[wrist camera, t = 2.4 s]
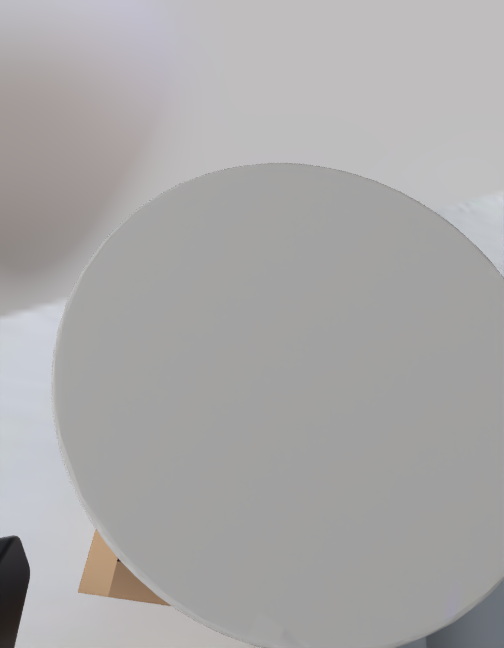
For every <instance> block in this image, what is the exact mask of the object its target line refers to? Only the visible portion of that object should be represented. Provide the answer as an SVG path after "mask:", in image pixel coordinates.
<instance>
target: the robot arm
mask: <svg viewBox="0 0 504 648" xmlns="http://www.w3.org/2000/svg"><path fill="white" fill-rule="evenodd" d="M29 579H30V567H29V563H28V560H27V558H26V555H25V552H24V549H23V546H22V543H21V540H20V538H19V537H17V536H8V537H2V538H0V648H14V647H15V642H16V638H17V633H18V629H19V624H20V620H21V615H22V611H23V606H24V602H25V597H26V593H27V589H28V584H29Z"/></svg>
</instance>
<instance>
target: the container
mask: <svg viewBox="0 0 504 648" xmlns="http://www.w3.org/2000/svg"><path fill="white" fill-rule="evenodd" d="M52 408H53V418H54V425H55V430H56V435H57V440H58V445H59V449H60V452H61V455H62V459H63V462H64V465H65V468H66V471H67V473H68V476H69V479H70V481H71V484H72V486H73V488H74V490H75V492H76V494H77V497H78V499H79V501H80V503H81V505H82V506H83V508H84V510H85V512H86V514H87V515H88V517H89V519H90V521H91V522H92V524H93V525H94V527H95V528H96V529H97V531H98V532H99V534H100V535H101V537H102V538H103V540H104V541H105V543H106V544H107V545H108V546H109V548H110V549H111V550H112V551H113V552H114V554H115V555H116V556H117V557H118V559H119V560H120V561H121V562H122V563H123V564H124V565H125V566H126V567H127V568H128V569H129V570H130V571H131V572H132V573H133V574H134V576H136V577H137V578H138V579H139V580H140V581H141V582H142V583H144V584H145V585H146V586H147V587H148V588H149V589H150V590H152V591H153V592H154V593H155V594H156V595H157V596H159V597H160V598H161V599H163V600H164V601H165V602H167V603H168V604H170V605H171V606H172V607H174V608H175V609H177V610H178V611H180V612H182V613H183V614H185V615H187V616H188V617H190V618H191V619H193V620H195V621H197V622H199V623H201V624H203V625H205V626H207V627H209V628H211V629H213V630H215V631H217V632H219V633H221V634H223V635H226V636H229V637H231V638H234V639H237V640H240V641H242V642H245V643H248V644H251V645H254V646H258V647H262V648H396V647H399V646H402V645H405V644H407V643H410V642H413V641H416V640H418V639H421V638H423V637H425V636H428V635H430V634H433V633H435V632H437V631H438V630H440V629H442V628H444V627H446V626H448V625H450V624H452V623H454V622H455V621H456V620H458V619H459V618H461V617H462V616H463V615H465V614H466V613H467V612H469V611H470V610H472V609H473V608H474V607H476V606H477V605H479V604H480V603H481V602H482V601H483V600H484V599H485V598H486V597H487V596H488V595H490V594H491V593H492V592H493V591H494V590H495V589H496V588H497V587H498V585H499V584H500V583H501V582H502V581H503V580H504V278H503V276H502V275H501V274H500V273H499V271H498V270H497V269H496V267H495V266H494V265H493V264H492V262H491V261H490V260H489V259H488V258H487V257H486V256H485V255H484V254H483V253H482V251H481V250H480V249H479V248H478V247H477V246H475V245H474V244H473V243H472V242H471V241H470V240H469V239H468V238H467V237H466V236H465V235H463V234H462V233H461V232H460V231H459V230H458V229H457V228H456V227H454V226H453V225H452V224H450V223H449V222H448V221H447V220H445V219H444V218H443V217H441V216H440V215H438V214H437V213H435V212H434V211H432V210H431V209H429V208H428V207H426V206H425V205H423V204H421V203H420V202H418V201H416V200H414V199H413V198H411V197H409V196H407V195H405V194H403V193H401V192H399V191H397V190H395V189H393V188H390V187H388V186H386V185H384V184H381V183H379V182H376V181H374V180H371V179H368V178H364V177H362V176H359V175H356V174H352V173H348V172H345V171H340V170H336V169H331V168H325V167H320V166H313V165H304V164H292V163H268V164H256V165H247V166H240V167H233V168H228V169H224V170H220V171H216V172H213V173H208V174H205V175H202V176H200V177H197V178H195V179H192V180H189V181H186V182H184V183H181V184H179V185H178V186H175V187H173V188H171V189H169V190H167V191H165V192H163V193H162V194H160V195H158V196H157V197H155V198H153V199H152V200H150V201H148V202H147V203H145V204H144V205H143V206H141V207H140V208H138V209H137V210H136V211H135V212H133V213H132V214H131V215H130V216H128V217H127V218H126V219H125V220H124V221H123V222H122V223H121V224H120V225H119V226H117V227H116V228H115V229H114V230H113V231H112V232H111V234H110V235H109V236H108V237H107V238H106V239H105V240H104V241H103V243H102V244H101V245H100V246H99V248H98V249H97V250H96V251H95V253H94V254H93V256H92V257H91V258H90V260H89V261H88V263H87V265H86V266H85V268H84V269H83V271H82V273H81V275H80V276H79V278H78V280H77V282H76V284H75V286H74V288H73V290H72V292H71V294H70V296H69V299H68V301H67V303H66V305H65V309H64V312H63V315H62V318H61V322H60V325H59V328H58V332H57V338H56V343H55V348H54V353H53V364H52Z"/></svg>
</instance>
